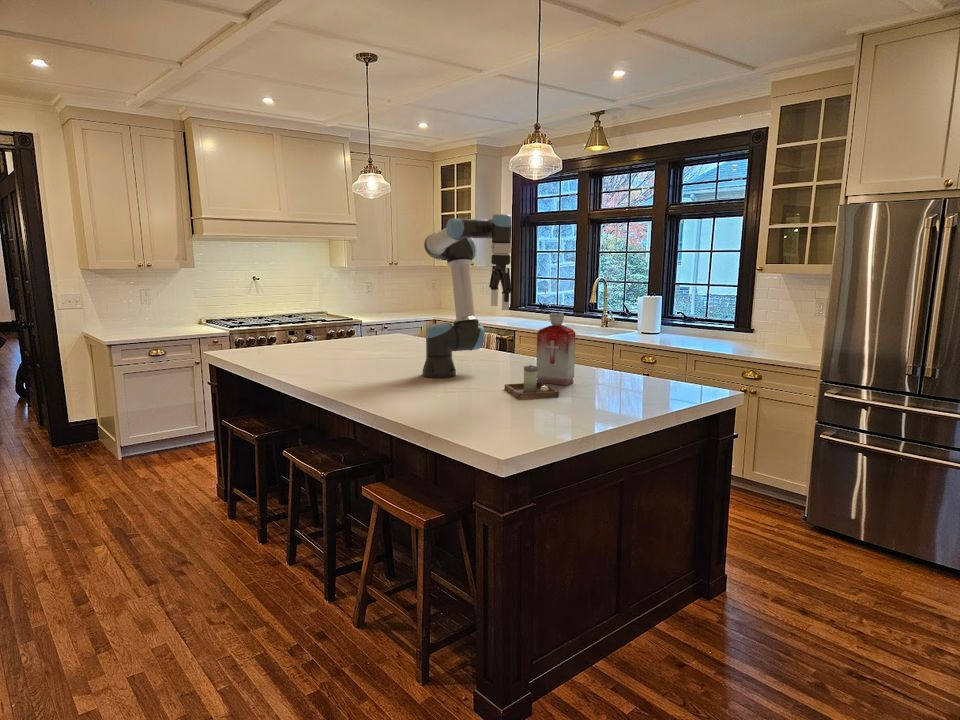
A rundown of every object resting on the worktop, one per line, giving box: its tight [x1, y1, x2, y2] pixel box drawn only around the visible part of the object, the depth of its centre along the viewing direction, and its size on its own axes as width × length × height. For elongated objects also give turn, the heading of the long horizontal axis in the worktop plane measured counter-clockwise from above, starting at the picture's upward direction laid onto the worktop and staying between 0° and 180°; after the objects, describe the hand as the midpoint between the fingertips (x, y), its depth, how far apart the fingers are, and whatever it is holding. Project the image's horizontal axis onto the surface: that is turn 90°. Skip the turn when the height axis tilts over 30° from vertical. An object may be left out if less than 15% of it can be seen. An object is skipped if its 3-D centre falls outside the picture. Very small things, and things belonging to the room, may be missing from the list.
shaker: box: [523, 364, 538, 393], centre depth 247 cm, size 6×6×11 cm
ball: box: [540, 385, 549, 392], centre depth 244 cm, size 4×4×4 cm
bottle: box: [536, 312, 576, 387], centre depth 264 cm, size 14×10×30 cm
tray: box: [504, 382, 560, 400], centre depth 247 cm, size 18×16×2 cm
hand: (499, 308), depth 250 cm, fingers open, 13 cm apart
